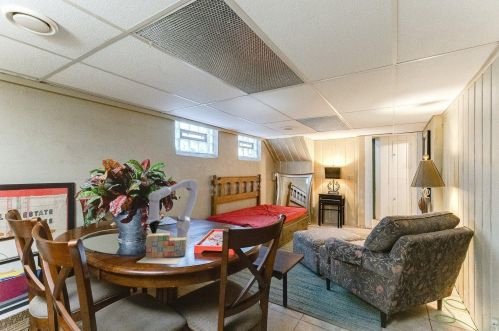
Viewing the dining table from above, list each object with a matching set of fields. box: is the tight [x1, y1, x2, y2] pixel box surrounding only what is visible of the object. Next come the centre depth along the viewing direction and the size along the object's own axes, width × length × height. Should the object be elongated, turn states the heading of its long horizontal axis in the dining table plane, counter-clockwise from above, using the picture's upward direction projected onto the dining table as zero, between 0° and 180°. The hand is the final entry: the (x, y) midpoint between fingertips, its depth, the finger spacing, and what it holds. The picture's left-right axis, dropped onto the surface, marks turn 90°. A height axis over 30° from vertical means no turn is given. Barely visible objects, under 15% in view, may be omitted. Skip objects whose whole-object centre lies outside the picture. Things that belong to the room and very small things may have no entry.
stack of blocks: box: [145, 232, 187, 258], centre depth 134 cm, size 21×6×12 cm, turn 101°
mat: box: [135, 256, 183, 266], centre depth 126 cm, size 8×22×1 cm, turn 83°
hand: (153, 233), depth 145 cm, fingers closed
